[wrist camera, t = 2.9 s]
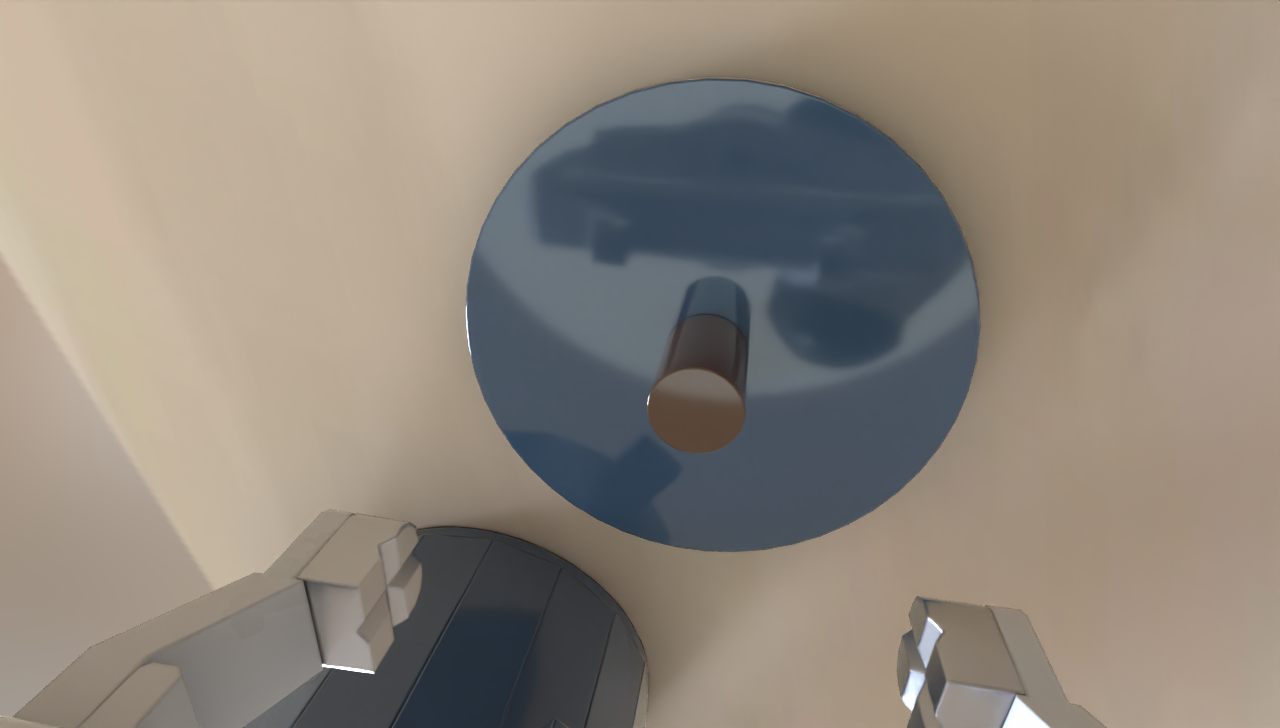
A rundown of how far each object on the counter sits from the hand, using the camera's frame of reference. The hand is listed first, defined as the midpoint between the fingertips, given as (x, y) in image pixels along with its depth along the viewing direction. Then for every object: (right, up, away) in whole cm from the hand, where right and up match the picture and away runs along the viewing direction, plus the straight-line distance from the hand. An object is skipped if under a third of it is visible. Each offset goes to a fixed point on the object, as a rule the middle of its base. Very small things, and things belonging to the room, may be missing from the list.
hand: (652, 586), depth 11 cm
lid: (+2, +4, +9) cm, 10 cm away
